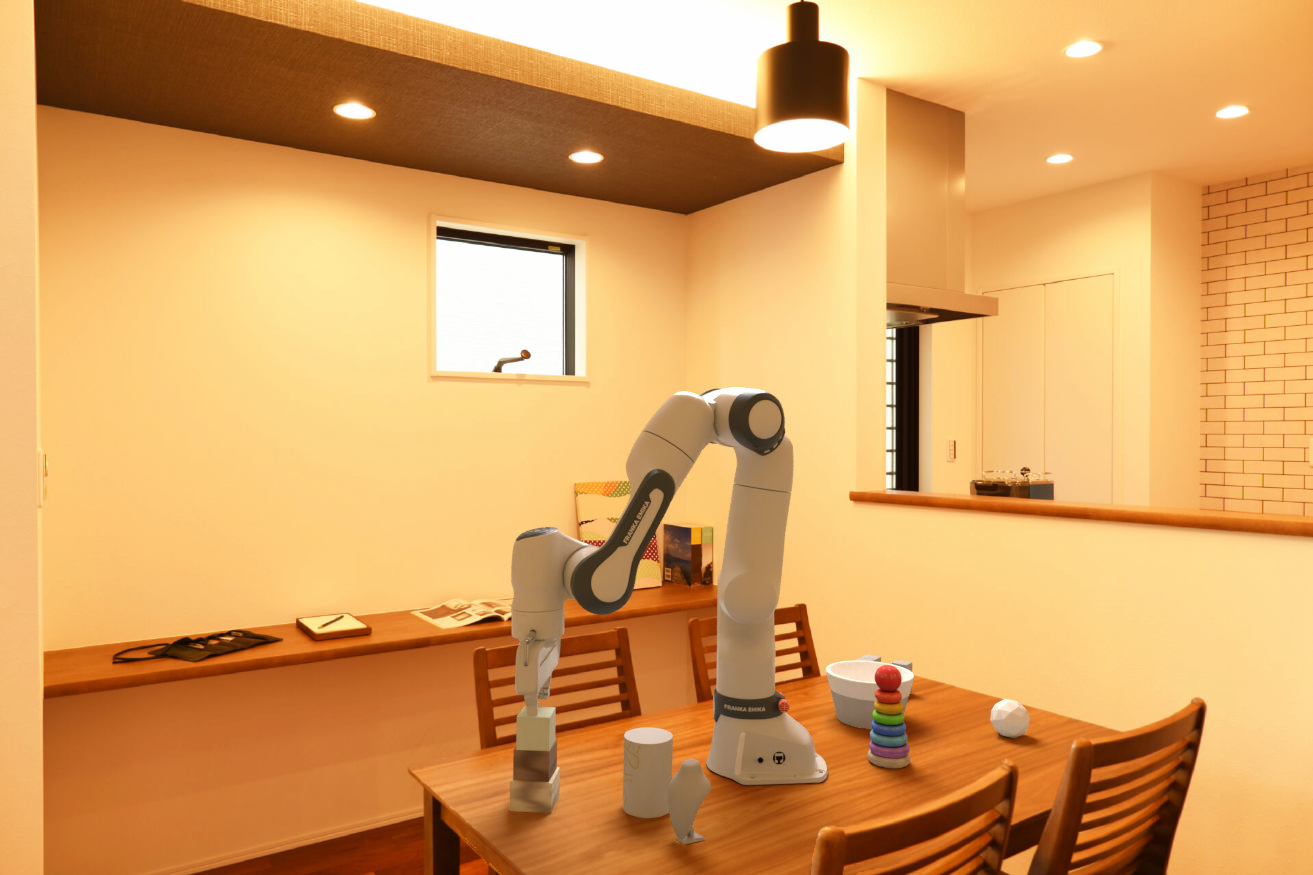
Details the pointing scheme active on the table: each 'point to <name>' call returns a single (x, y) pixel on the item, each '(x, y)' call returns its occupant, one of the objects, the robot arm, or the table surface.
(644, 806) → the white cylinder
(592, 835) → the table surface
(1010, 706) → the geometric ball
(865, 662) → the bowl
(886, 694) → the stacking toy
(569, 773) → the table surface
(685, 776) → the figurine
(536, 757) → the walnut mid
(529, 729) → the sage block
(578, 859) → the table surface
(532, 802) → the maple base
